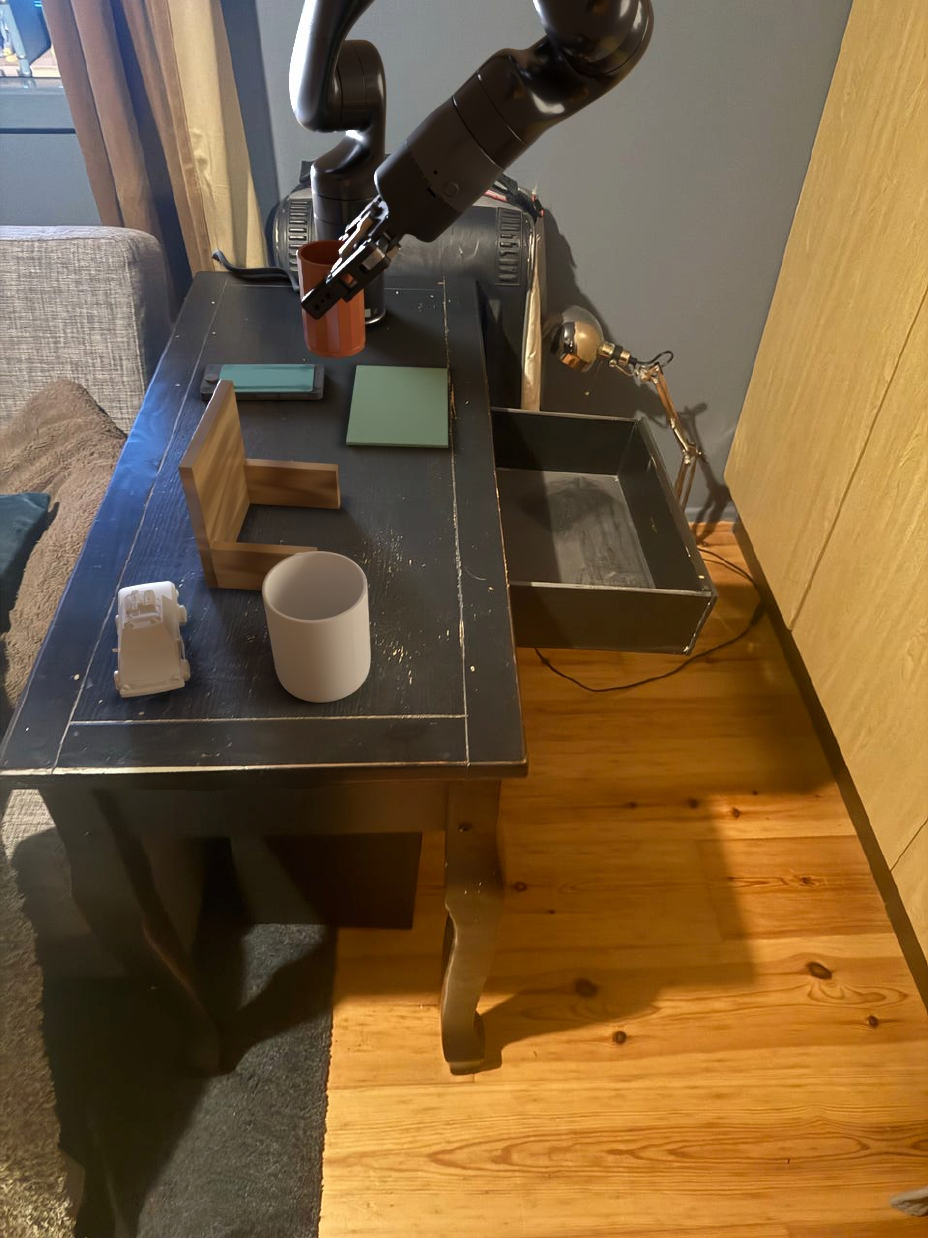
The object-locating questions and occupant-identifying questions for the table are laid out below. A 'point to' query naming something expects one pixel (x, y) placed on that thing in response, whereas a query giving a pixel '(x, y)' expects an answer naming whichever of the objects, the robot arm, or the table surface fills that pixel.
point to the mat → (399, 407)
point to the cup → (343, 321)
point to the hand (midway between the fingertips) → (315, 295)
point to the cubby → (242, 495)
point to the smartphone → (266, 381)
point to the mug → (318, 625)
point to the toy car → (150, 640)
